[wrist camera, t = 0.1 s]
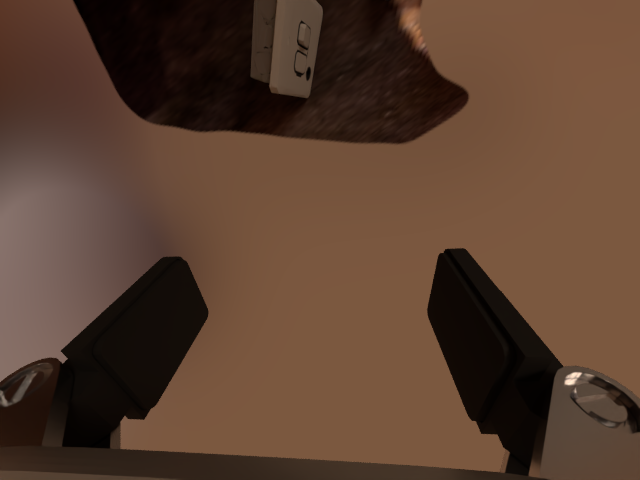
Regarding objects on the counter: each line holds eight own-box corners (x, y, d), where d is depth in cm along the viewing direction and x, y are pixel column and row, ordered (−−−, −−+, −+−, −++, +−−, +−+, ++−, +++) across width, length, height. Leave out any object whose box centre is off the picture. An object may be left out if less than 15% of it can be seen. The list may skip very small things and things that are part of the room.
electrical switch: (309, 99, 33) (292, 98, 25) (273, 90, 33) (244, 86, 25) (324, 9, 28) (308, -28, 20) (282, -1, 29) (250, -42, 21)
